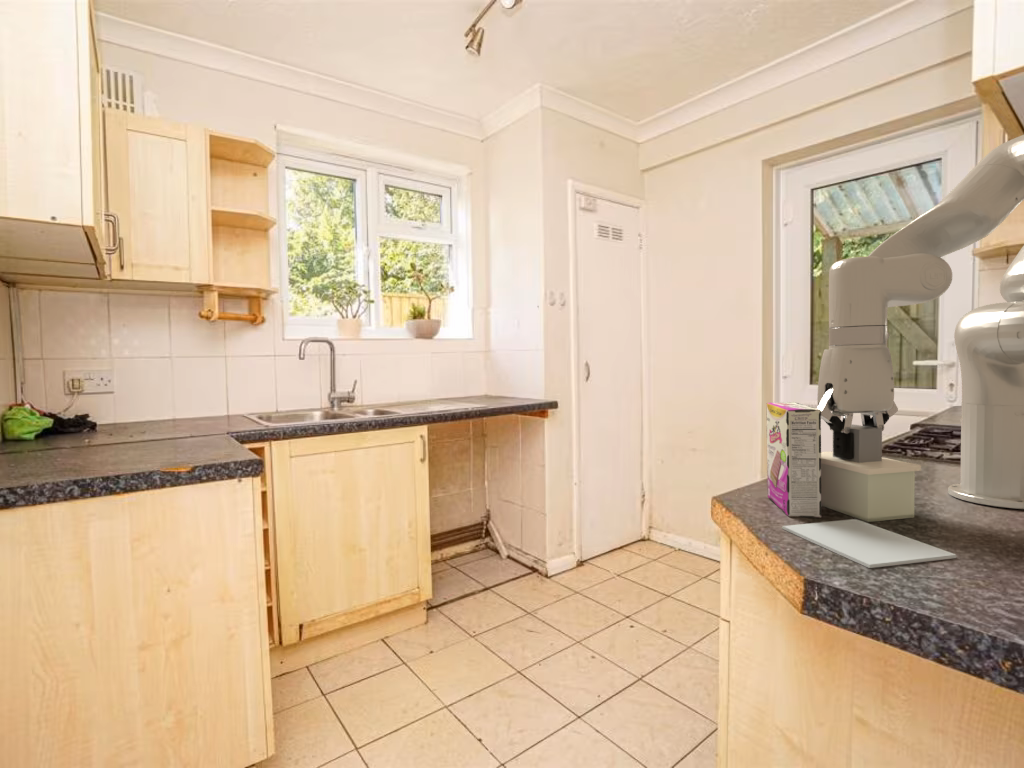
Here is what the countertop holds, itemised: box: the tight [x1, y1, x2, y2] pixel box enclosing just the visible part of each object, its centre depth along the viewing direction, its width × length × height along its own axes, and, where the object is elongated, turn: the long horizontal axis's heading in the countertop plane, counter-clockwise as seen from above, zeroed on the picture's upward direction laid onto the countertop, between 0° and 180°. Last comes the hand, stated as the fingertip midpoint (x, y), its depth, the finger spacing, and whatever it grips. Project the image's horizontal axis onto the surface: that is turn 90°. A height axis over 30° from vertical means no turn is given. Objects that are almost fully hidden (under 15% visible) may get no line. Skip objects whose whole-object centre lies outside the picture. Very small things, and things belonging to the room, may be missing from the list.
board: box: [781, 518, 957, 569], centre depth 66 cm, size 12×14×1 cm
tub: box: [821, 463, 916, 523], centre depth 80 cm, size 8×12×7 cm, turn 11°
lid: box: [821, 424, 922, 475], centre depth 80 cm, size 9×13×7 cm
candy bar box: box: [766, 401, 822, 519], centre depth 81 cm, size 11×5×16 cm, turn 168°
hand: (856, 455), depth 80 cm, fingers closed on lid, 4 cm apart
